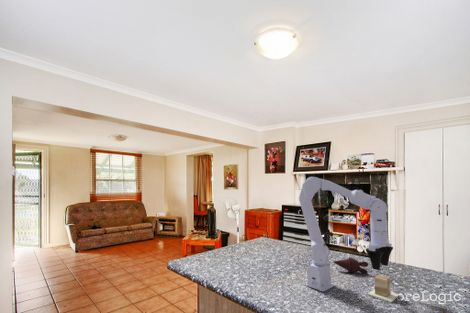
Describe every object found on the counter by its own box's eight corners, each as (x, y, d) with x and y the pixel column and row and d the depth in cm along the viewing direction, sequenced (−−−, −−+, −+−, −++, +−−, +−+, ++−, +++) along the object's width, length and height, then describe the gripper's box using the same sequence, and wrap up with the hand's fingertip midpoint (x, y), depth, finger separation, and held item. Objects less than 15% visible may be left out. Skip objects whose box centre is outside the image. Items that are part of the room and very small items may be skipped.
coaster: (391, 303, 90) (391, 301, 90) (367, 295, 96) (367, 293, 96) (399, 296, 95) (399, 294, 95) (376, 289, 101) (376, 287, 101)
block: (386, 297, 93) (386, 280, 94) (375, 293, 96) (374, 277, 97) (390, 294, 96) (390, 277, 96) (379, 290, 99) (378, 274, 99)
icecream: (333, 259, 119) (370, 266, 114) (333, 251, 126) (367, 257, 121) (332, 272, 120) (368, 280, 115) (332, 264, 127) (366, 270, 122)
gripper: (382, 234, 91) (384, 274, 90) (397, 229, 101) (399, 265, 99) (362, 231, 97) (363, 269, 95) (378, 227, 106) (379, 261, 105)
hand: (380, 267), depth 98 cm, fingers open, 7 cm apart
